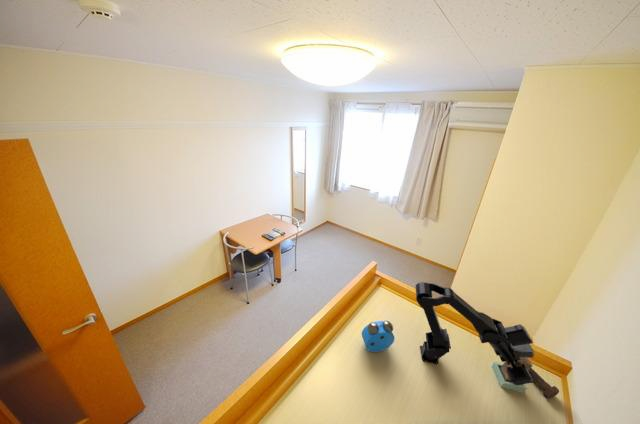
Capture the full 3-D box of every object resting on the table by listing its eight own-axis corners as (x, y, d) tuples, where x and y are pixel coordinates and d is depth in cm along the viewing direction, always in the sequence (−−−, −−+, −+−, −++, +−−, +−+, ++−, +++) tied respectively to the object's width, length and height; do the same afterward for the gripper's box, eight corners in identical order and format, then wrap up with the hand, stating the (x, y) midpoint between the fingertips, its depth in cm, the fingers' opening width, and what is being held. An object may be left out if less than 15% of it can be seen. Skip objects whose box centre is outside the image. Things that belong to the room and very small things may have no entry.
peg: (504, 381, 90) (519, 362, 84) (499, 369, 93) (513, 350, 87) (516, 384, 89) (532, 365, 83) (511, 372, 93) (525, 353, 87)
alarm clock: (385, 337, 105) (392, 316, 98) (391, 350, 100) (398, 328, 93) (359, 341, 103) (363, 319, 96) (364, 355, 97) (369, 333, 91)
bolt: (512, 361, 100) (550, 399, 87) (506, 359, 98) (545, 399, 85) (521, 352, 99) (562, 390, 86) (516, 351, 97) (557, 389, 83)
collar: (500, 386, 89) (503, 382, 88) (491, 366, 96) (494, 362, 95) (523, 392, 88) (526, 388, 86) (512, 371, 94) (515, 366, 93)
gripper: (540, 365, 73) (560, 392, 76) (510, 316, 89) (528, 340, 92) (503, 372, 78) (523, 397, 81) (481, 325, 94) (499, 347, 97)
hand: (519, 368), depth 88 cm, fingers closed on peg, 4 cm apart
